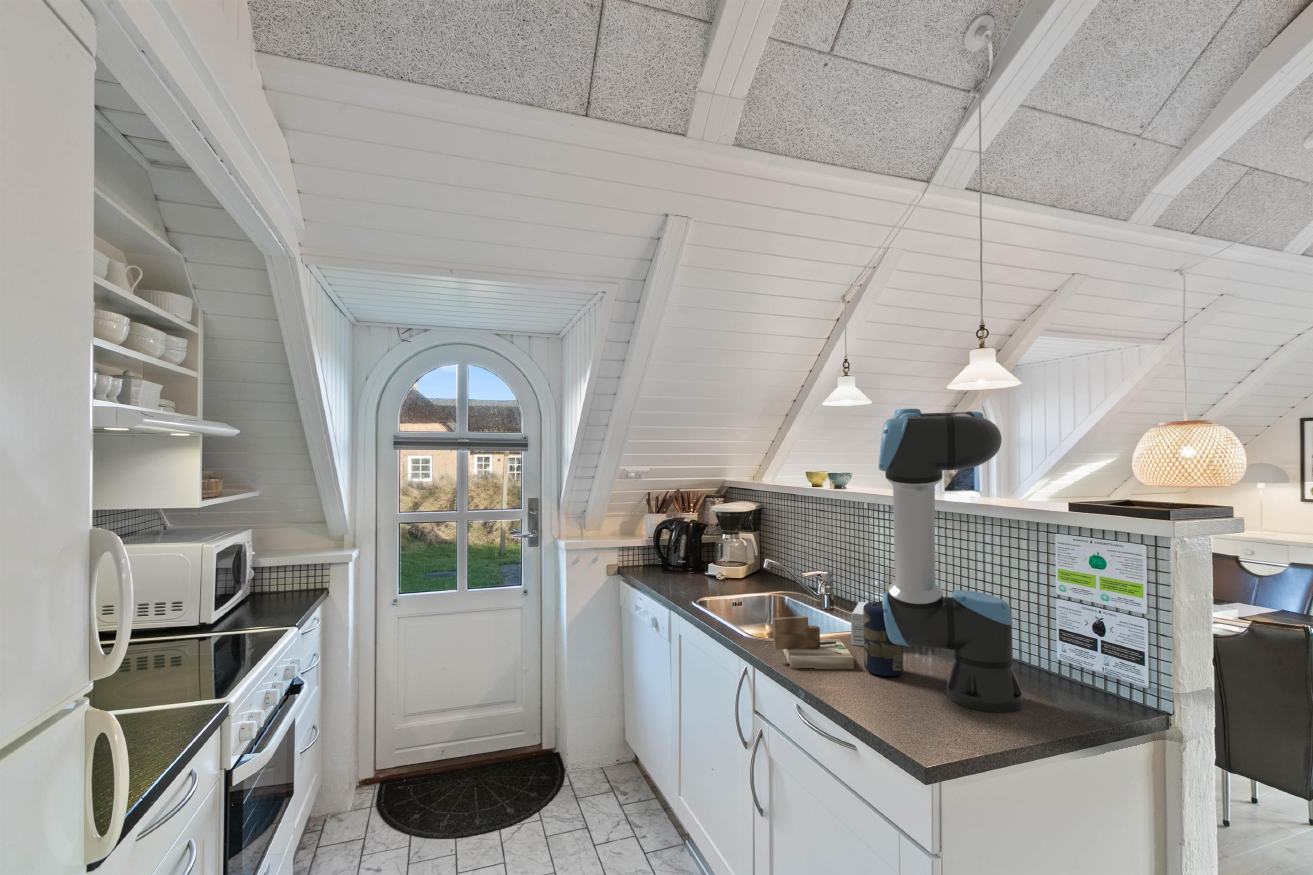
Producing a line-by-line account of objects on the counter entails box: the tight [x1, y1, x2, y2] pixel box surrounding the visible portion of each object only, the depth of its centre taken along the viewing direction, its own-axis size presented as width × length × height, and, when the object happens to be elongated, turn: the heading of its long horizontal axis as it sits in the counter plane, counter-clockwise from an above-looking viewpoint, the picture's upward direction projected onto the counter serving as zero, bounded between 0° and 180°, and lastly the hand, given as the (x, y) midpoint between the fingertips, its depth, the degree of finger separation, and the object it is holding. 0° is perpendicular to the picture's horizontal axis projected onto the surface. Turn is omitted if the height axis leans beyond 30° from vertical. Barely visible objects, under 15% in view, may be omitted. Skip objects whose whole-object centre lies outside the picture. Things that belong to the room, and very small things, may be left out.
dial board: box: [782, 638, 855, 670], centre depth 168 cm, size 16×16×3 cm
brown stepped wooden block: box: [772, 615, 836, 651], centre depth 168 cm, size 18×4×8 cm, turn 101°
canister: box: [863, 600, 905, 677], centre depth 157 cm, size 10×10×18 cm
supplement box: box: [850, 601, 868, 647], centre depth 185 cm, size 17×13×9 cm
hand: (910, 542), depth 180 cm, fingers closed
